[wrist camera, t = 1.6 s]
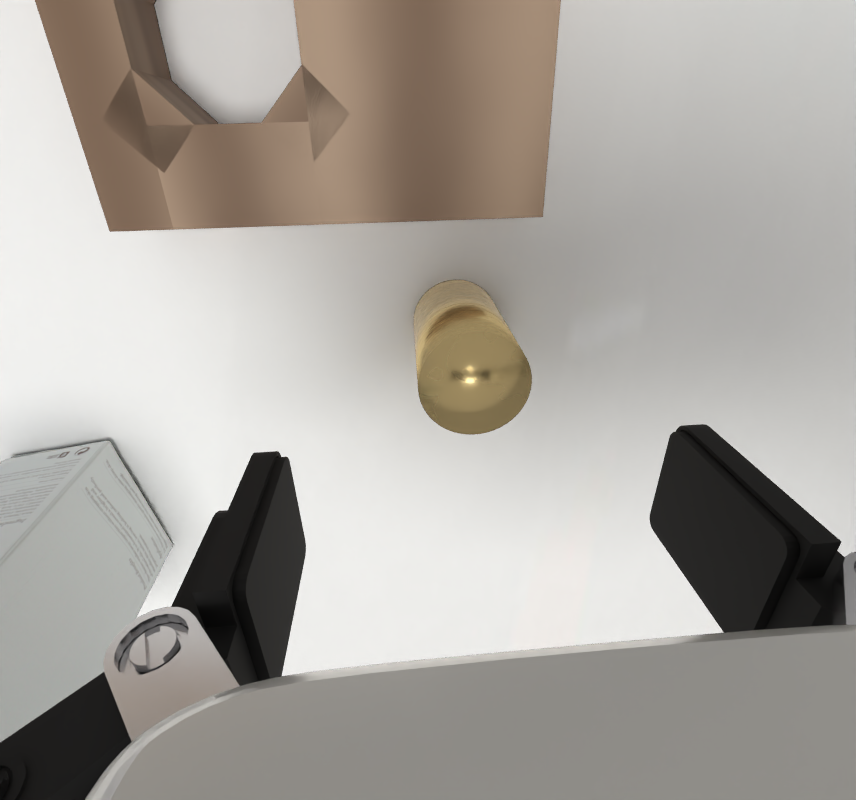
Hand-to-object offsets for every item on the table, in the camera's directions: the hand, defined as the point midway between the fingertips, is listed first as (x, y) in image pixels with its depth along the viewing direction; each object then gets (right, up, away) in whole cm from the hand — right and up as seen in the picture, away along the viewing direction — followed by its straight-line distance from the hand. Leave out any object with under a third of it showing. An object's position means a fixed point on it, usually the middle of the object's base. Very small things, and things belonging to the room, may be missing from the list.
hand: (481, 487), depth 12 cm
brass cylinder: (0, +6, +11) cm, 13 cm away
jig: (-5, +15, +6) cm, 17 cm away
